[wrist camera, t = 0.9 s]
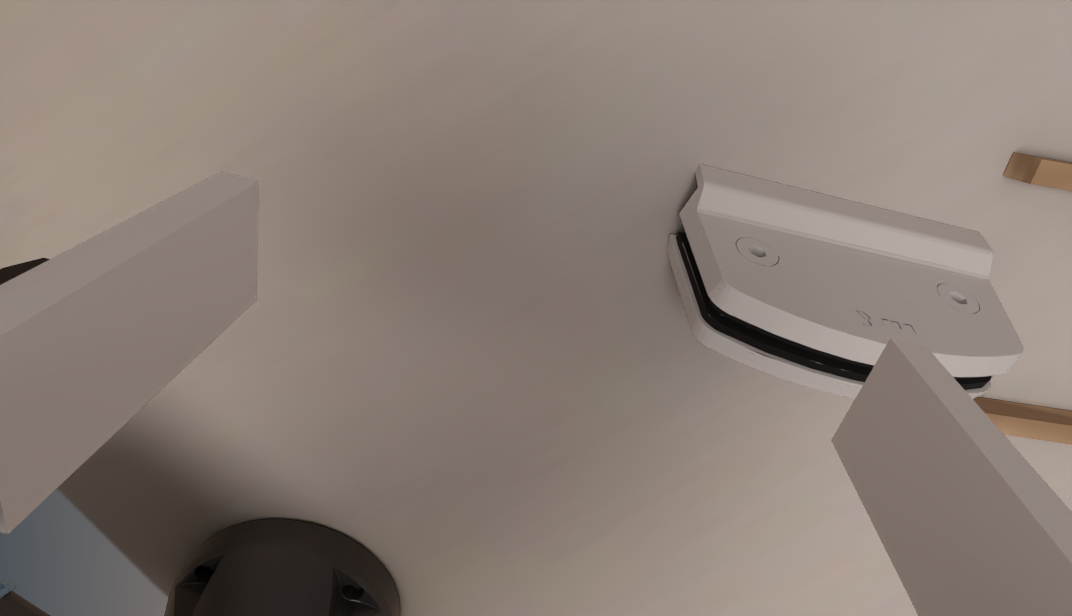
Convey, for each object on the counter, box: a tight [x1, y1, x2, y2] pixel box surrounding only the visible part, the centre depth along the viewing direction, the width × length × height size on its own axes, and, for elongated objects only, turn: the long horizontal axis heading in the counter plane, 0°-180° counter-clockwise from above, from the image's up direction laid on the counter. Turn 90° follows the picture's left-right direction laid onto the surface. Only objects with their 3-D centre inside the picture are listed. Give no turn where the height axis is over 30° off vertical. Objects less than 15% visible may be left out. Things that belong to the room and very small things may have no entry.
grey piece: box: [667, 164, 1023, 399], centre depth 32 cm, size 17×5×10 cm, turn 77°
